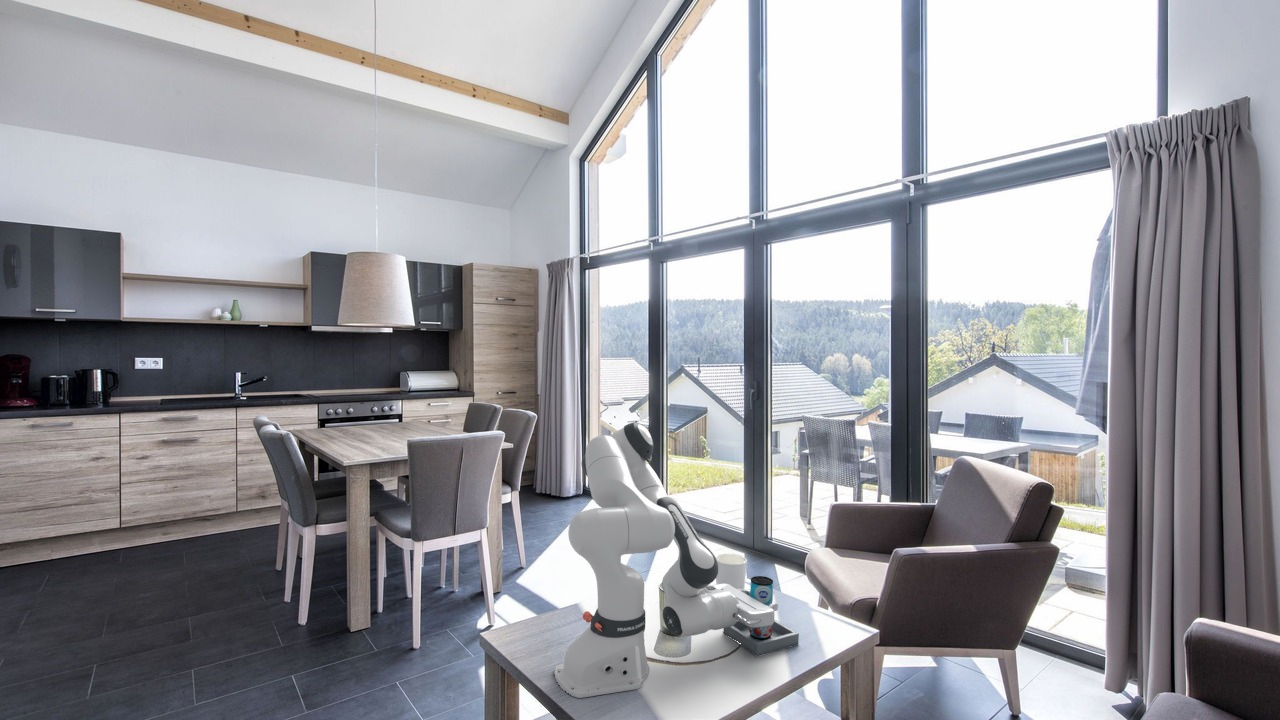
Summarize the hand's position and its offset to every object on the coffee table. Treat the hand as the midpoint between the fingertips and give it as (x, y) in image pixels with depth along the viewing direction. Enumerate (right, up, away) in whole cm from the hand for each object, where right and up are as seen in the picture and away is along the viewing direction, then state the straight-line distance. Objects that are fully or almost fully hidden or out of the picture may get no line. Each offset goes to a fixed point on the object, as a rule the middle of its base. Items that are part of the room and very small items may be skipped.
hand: (763, 599), depth 164 cm
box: (-1, -10, 0) cm, 11 cm away
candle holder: (-5, -10, +27) cm, 30 cm away
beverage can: (-1, -10, 0) cm, 10 cm away
